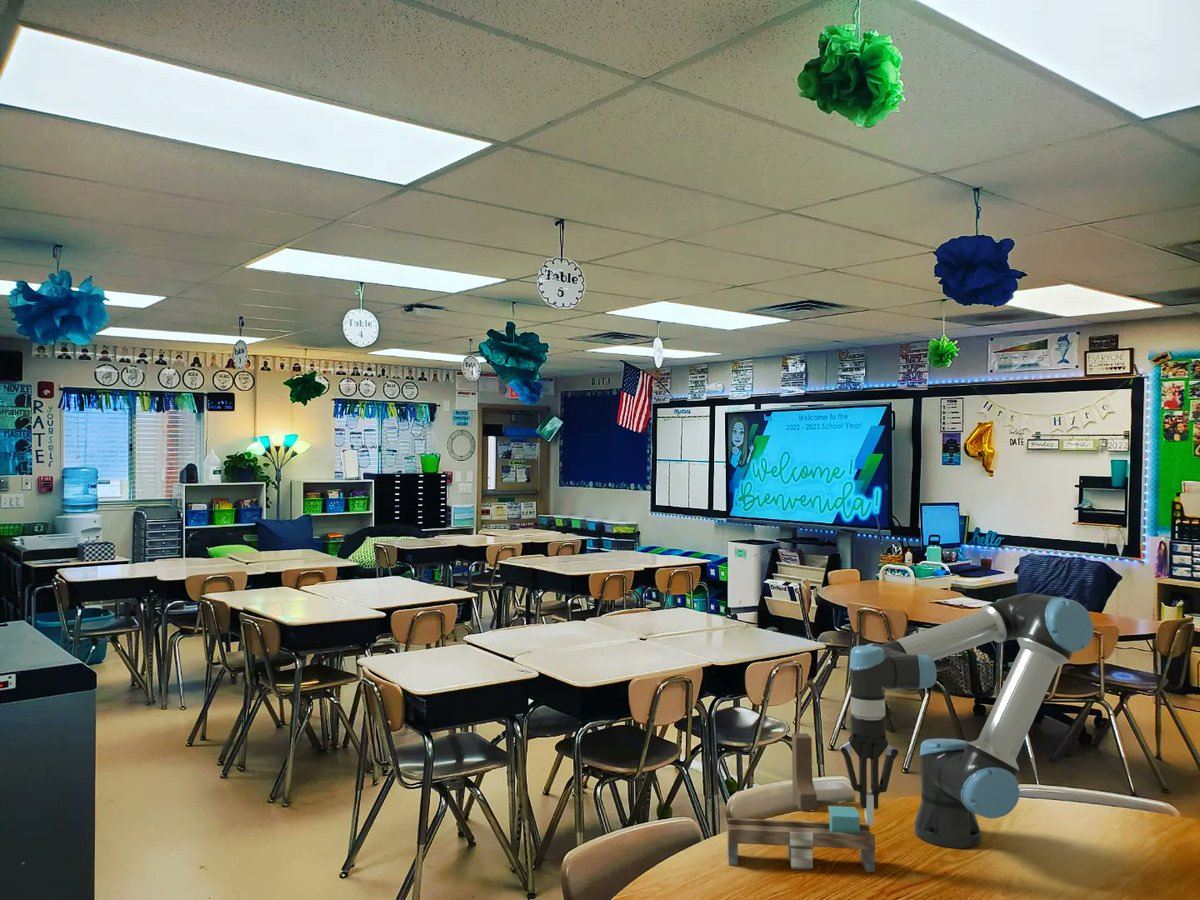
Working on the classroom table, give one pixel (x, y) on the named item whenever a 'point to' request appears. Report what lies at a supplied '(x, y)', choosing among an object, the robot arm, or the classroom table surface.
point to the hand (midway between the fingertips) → (869, 822)
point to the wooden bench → (798, 839)
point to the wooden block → (803, 772)
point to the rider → (844, 819)
